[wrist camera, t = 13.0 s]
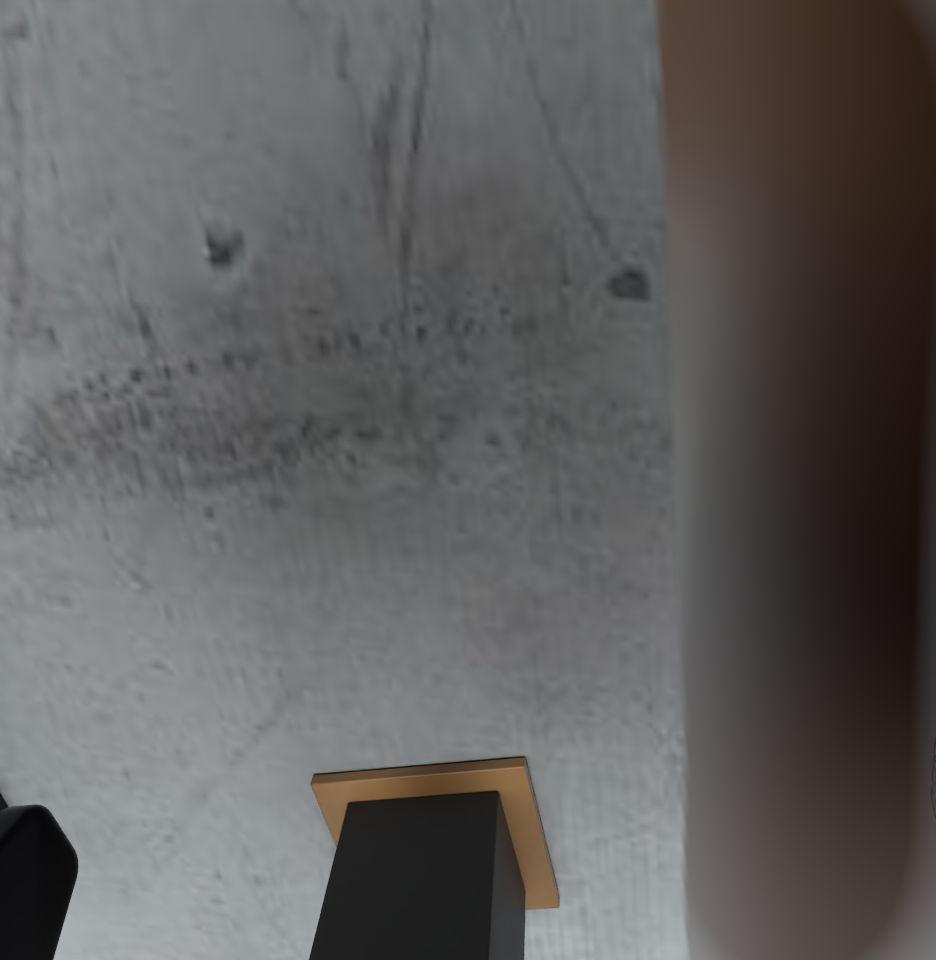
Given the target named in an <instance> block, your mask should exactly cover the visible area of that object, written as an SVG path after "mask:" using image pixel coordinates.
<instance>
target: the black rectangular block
mask: <svg viewBox="0 0 936 960" xmlns="http://www.w3.org/2000/svg"><path fill="white" fill-rule="evenodd" d="M525 894H526V891H525V887H524V883H523V880H522V876H521V872H520V869H519V865H518V861H517V858H516V854H515V850H514V847H513V843H512V839H511V836H510V832H509V828H508V825H507V821H506V817H505V814H504V810H503V806H502V803H501V799H500V795H499V792H498V791H490V792H477V793H464V794H451V795H439V796H426V797H413V798H400V799H388V800H375V801H362V802H350V803H348V804H347V808H346V812H345V816H344V820H343V824H342V828H341V832H340V836H339V840H338V844H337V849H336V853H335V857H334V861H333V865H332V869H331V873H330V877H329V881H328V885H327V889H326V893H325V897H324V901H323V905H322V909H321V913H320V918H319V922H318V926H317V930H316V934H315V938H314V942H313V946H312V950H311V954H310V958H309V960H524V938H525Z"/></svg>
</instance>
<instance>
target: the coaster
mask: <svg viewBox="0 0 936 960" xmlns="http://www.w3.org/2000/svg"><path fill="white" fill-rule="evenodd" d="M310 785H311V787H312V790H313V792H314V794H315V797H316V799H317V802H318V804H319V806H320V809H321V811H322V813H323V816H324V818H325V821H326V823H327V825H328V828H329V830H330V832H331V835H332V837H333V839H334V842H335V844H336V847H337V844H338V840H339V836H340V832H341V828H342V824H343V820H344V816H345V812H346V808H347V804H348V803H350V802H362V801H375V800H388V799H400V798H413V797H426V796H439V795H451V794H464V793H477V792H490V791H498V792H499V795H500V799H501V803H502V806H503V810H504V814H505V817H506V821H507V825H508V828H509V832H510V836H511V839H512V843H513V847H514V850H515V854H516V858H517V861H518V865H519V869H520V872H521V876H522V880H523V883H524V887H525V891H526V894H525V910H528V909H547V908H559V906H560V901H559V894H558V890H557V886H556V882H555V878H554V874H553V870H552V866H551V862H550V858H549V853H548V849H547V845H546V841H545V837H544V833H543V829H542V825H541V821H540V817H539V813H538V809H537V804H536V800H535V796H534V792H533V788H532V784H531V780H530V776H529V772H528V768H527V764H526V760H525V758H512V759H500V760H489V761H477V762H465V763H453V764H442V765H430V766H418V767H406V768H395V769H383V770H371V771H359V772H347V773H336V774H324V775H314V776H313V777H312V781H311V784H310Z"/></svg>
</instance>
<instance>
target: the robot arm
mask: <svg viewBox="0 0 936 960" xmlns="http://www.w3.org/2000/svg"><path fill="white" fill-rule="evenodd" d="M931 798H932V804H933V809H934V813H935V817H936V738H935V744H934V757H933V771H932V784H931ZM77 874H78V858H77V854H76V851H75V849H74V848H73V846H72V845H71V843H70V841H69V840H68V838H67V837H66V835H65V834H64V832H63V831H62V829H61V827H60V826H59V824H58V823H57V821H56V820H55V818H54V817H53V815H52V813H51V812H50V811H49V810H48V809H47V808H46V807H44V806H42V805H26V806H14V807H9V808H5V809H3V810H1V811H0V960H53V958H54V955H55V951H56V948H57V944H58V941H59V937H60V934H61V930H62V927H63V923H64V920H65V917H66V913H67V910H68V906H69V903H70V899H71V896H72V892H73V889H74V885H75V882H76V878H77Z"/></svg>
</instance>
